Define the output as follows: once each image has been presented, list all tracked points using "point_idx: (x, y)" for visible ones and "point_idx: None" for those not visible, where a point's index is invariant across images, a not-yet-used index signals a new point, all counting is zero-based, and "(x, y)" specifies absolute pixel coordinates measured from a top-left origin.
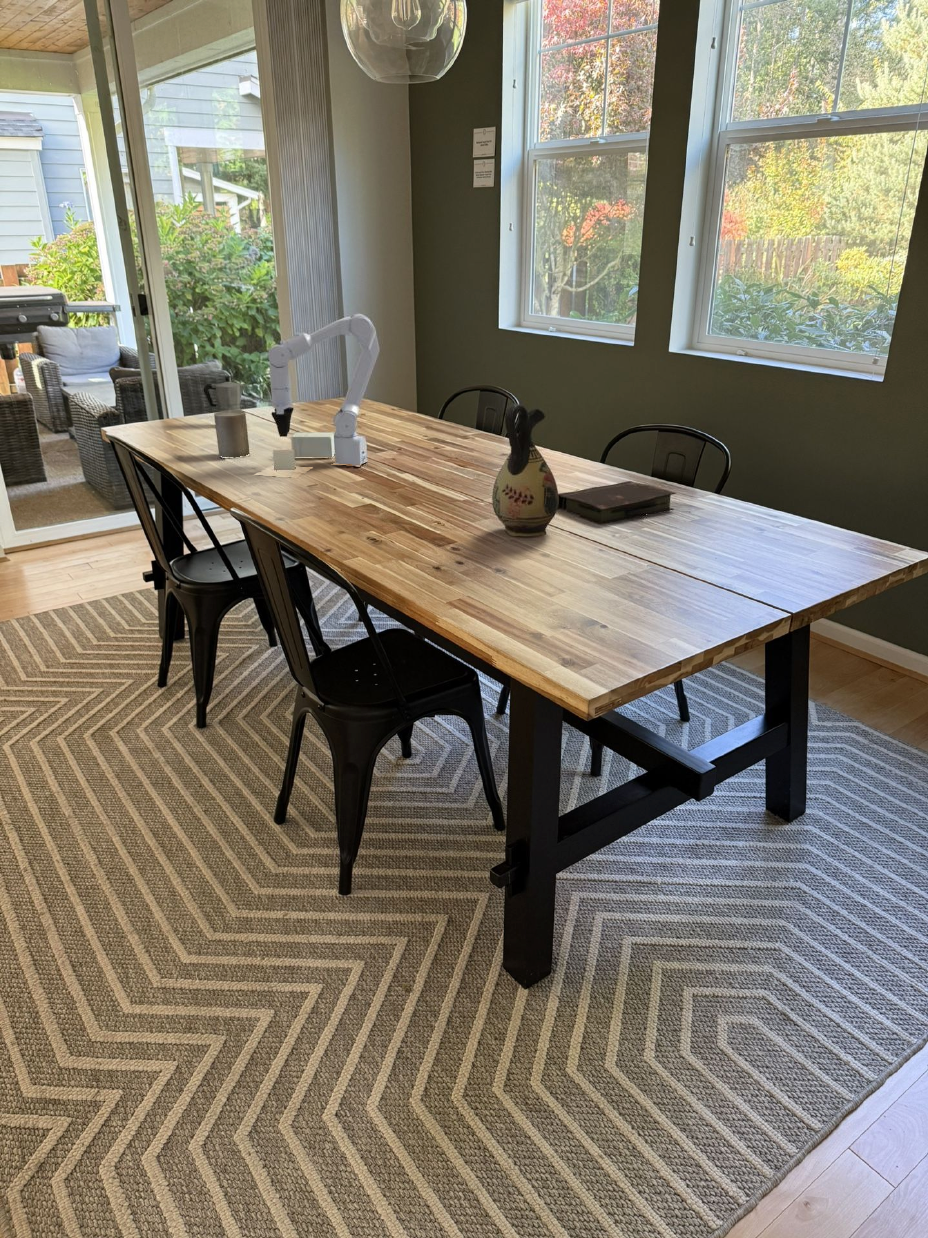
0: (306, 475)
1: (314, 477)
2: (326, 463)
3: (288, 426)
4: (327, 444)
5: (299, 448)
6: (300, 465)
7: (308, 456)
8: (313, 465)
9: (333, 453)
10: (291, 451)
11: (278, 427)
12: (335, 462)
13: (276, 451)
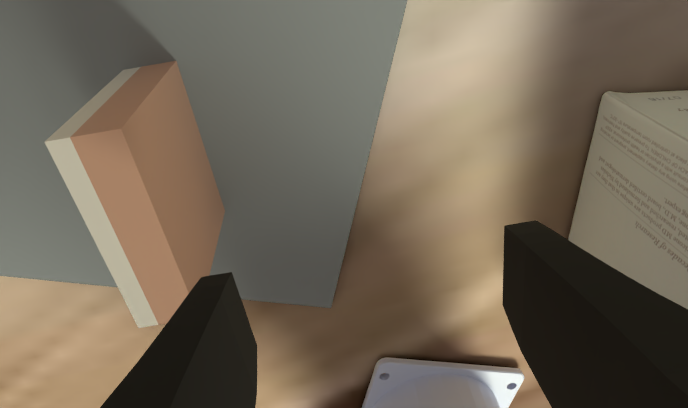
0: (119, 295)
1: (85, 344)
2: (457, 320)
3: (542, 374)
4: None
5: (635, 190)
6: (401, 192)
7: (585, 216)
8: (402, 268)
9: None
10: (132, 307)
11: (127, 398)
12: (411, 383)
13: (64, 178)
